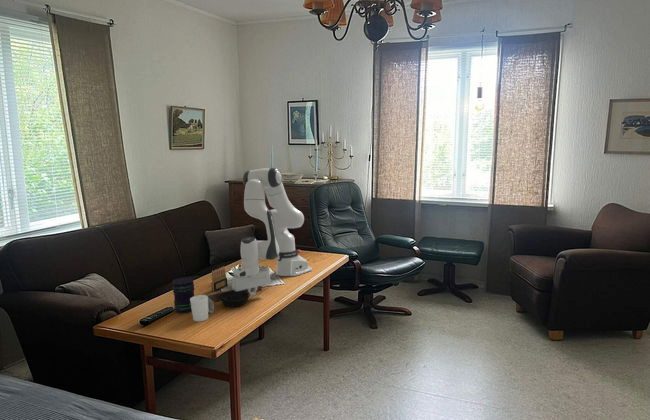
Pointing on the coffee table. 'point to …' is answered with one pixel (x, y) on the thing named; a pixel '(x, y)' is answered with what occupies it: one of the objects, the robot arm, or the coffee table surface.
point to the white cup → (199, 307)
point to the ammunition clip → (219, 279)
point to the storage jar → (183, 294)
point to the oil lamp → (234, 297)
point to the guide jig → (215, 297)
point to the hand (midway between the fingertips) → (252, 295)
